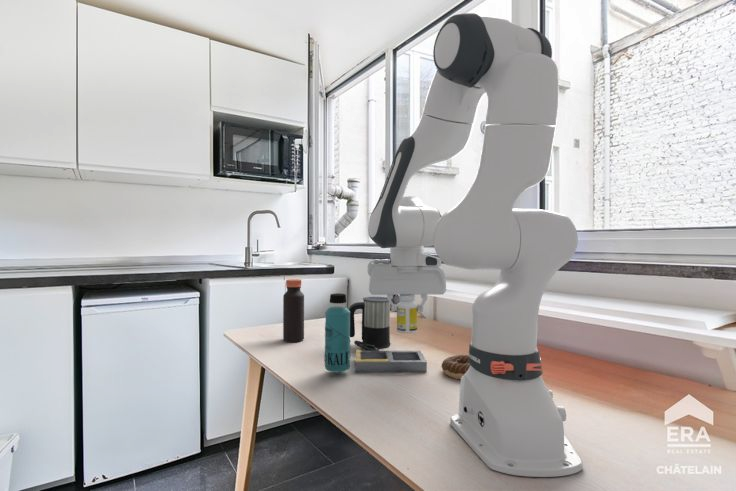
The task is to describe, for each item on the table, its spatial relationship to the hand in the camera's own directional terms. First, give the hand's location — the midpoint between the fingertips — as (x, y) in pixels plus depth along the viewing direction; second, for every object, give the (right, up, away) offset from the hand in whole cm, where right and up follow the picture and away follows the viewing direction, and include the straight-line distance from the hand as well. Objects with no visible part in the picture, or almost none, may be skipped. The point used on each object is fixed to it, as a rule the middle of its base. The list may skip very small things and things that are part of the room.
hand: (407, 311), depth 100 cm
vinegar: (-35, -14, +26) cm, 46 cm away
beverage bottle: (-18, -15, -6) cm, 24 cm away
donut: (+13, -15, -5) cm, 21 cm away
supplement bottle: (0, -6, 0) cm, 6 cm away
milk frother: (-9, -14, +17) cm, 24 cm away
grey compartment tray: (-5, -14, +1) cm, 15 cm away
